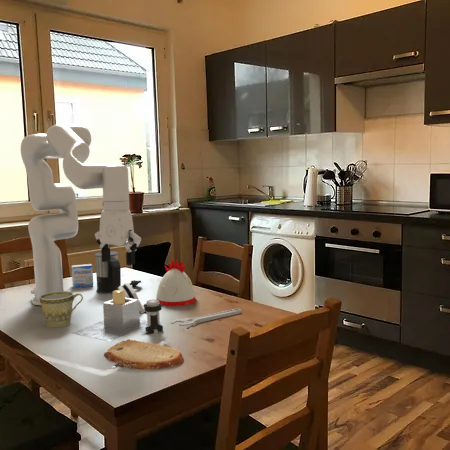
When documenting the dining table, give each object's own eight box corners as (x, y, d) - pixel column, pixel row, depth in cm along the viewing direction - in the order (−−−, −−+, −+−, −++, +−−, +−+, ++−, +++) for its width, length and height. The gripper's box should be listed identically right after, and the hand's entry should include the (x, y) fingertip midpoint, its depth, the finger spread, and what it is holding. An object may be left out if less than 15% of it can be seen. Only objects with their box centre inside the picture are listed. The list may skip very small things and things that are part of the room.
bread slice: (188, 364, 130) (188, 350, 129) (118, 380, 121) (117, 364, 121) (162, 342, 146) (162, 329, 145) (98, 355, 137) (98, 341, 137)
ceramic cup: (45, 334, 153) (43, 301, 152) (38, 325, 162) (36, 294, 160) (89, 325, 160) (87, 294, 159) (79, 317, 169) (77, 287, 167)
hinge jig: (71, 336, 151) (69, 309, 150) (116, 318, 167) (114, 294, 166) (110, 344, 143) (108, 316, 142) (152, 324, 160) (151, 299, 159)
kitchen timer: (186, 307, 178) (184, 264, 176) (150, 304, 182) (148, 262, 180) (201, 297, 191) (199, 257, 189) (166, 294, 195) (165, 255, 193)
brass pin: (112, 324, 158) (109, 292, 157) (121, 320, 161) (118, 289, 160) (120, 325, 156) (118, 293, 155) (129, 322, 159) (127, 290, 158)
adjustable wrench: (237, 312, 173) (237, 307, 172) (248, 317, 167) (248, 312, 167) (168, 325, 160) (168, 319, 160) (177, 331, 155) (177, 325, 154)
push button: (145, 340, 147) (143, 305, 145) (137, 335, 151) (136, 301, 150) (166, 335, 150) (165, 301, 149) (158, 330, 155) (157, 297, 153)
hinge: (149, 314, 170) (137, 287, 168) (135, 321, 169) (124, 294, 166) (138, 301, 186) (127, 277, 183) (125, 307, 184) (114, 283, 182)
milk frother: (91, 291, 202) (89, 254, 200) (121, 283, 215) (119, 247, 213) (116, 296, 194) (114, 257, 192) (146, 287, 206) (144, 250, 205)
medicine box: (73, 288, 207) (72, 267, 206) (72, 285, 211) (71, 265, 210) (93, 286, 210) (92, 265, 209) (92, 283, 214) (91, 263, 213)
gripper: (85, 206, 155) (88, 262, 158) (130, 209, 146) (132, 268, 149) (103, 203, 161) (105, 257, 164) (147, 206, 153) (148, 263, 155)
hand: (118, 262), depth 156 cm, fingers open, 9 cm apart
